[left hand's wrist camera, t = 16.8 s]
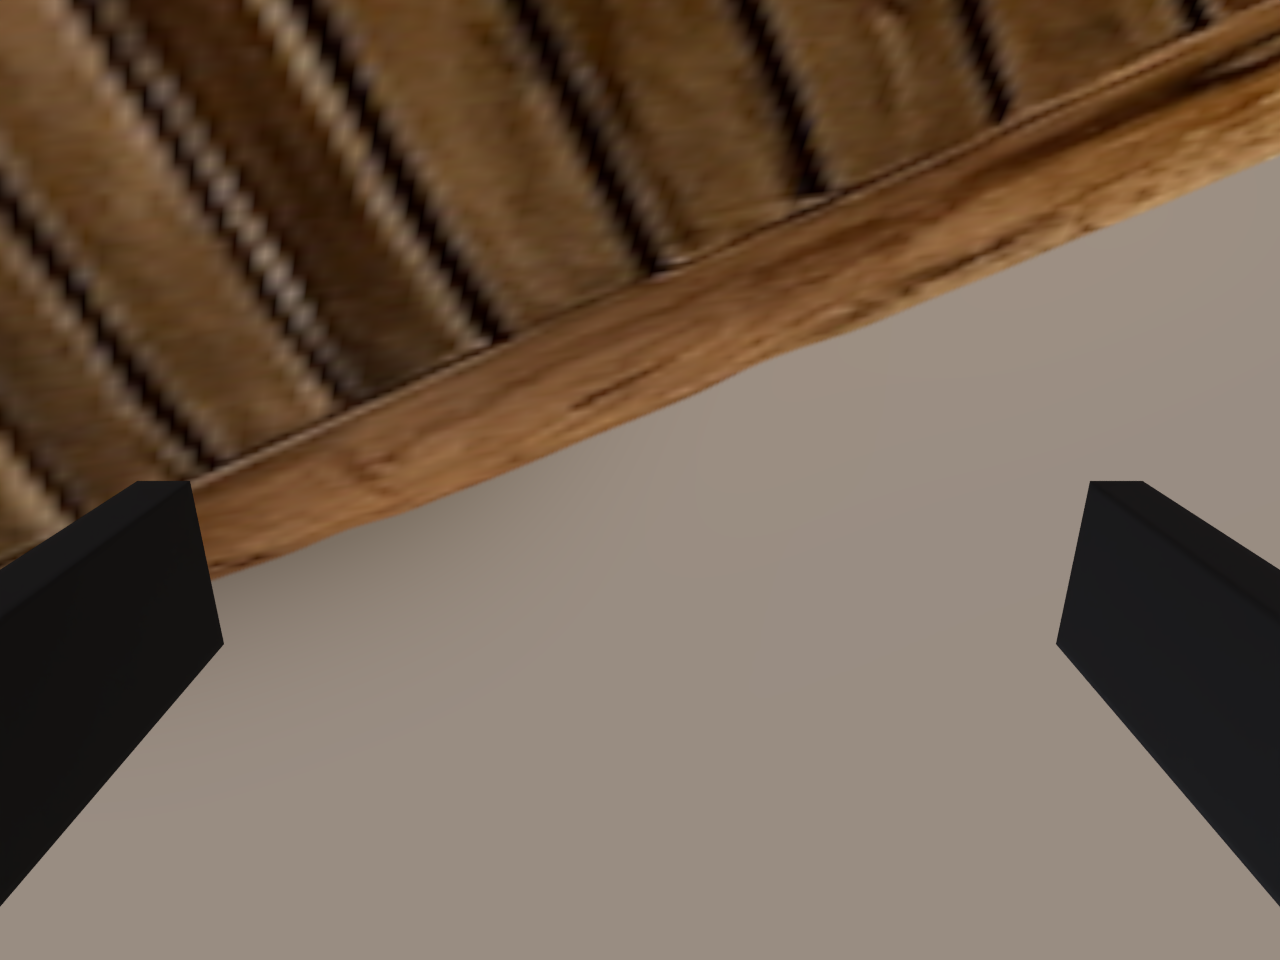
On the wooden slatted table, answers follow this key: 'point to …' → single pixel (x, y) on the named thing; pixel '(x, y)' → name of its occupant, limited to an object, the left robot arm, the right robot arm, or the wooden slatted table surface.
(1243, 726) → the left robot arm
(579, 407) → the wooden slatted table surface
